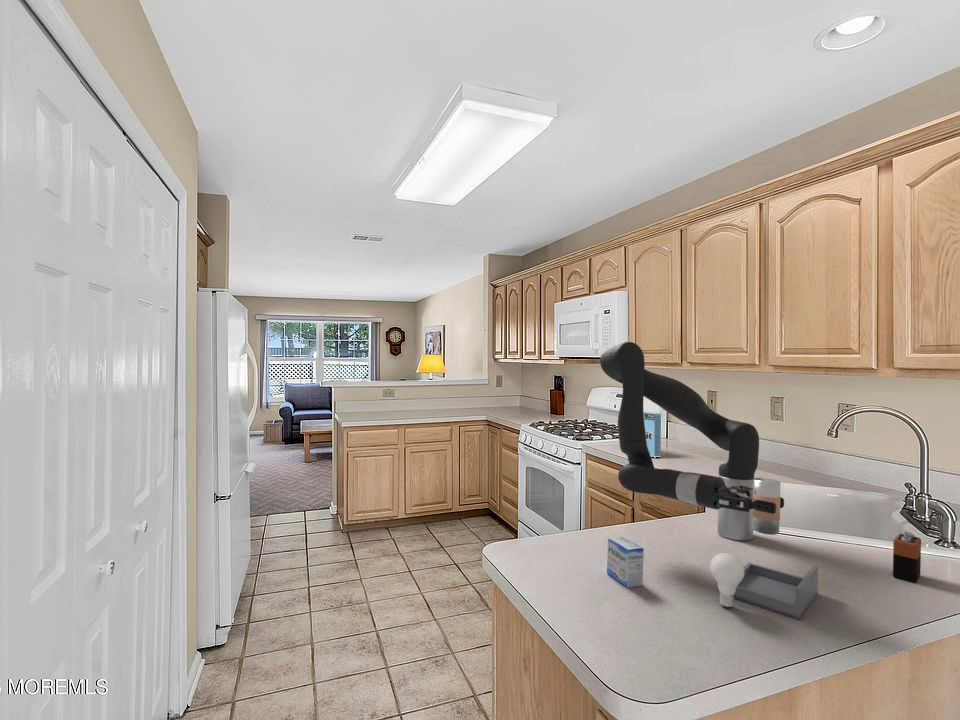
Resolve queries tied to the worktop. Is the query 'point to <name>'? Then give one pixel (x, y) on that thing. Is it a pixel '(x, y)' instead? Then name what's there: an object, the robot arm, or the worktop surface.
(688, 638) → the worktop surface
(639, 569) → the medicine box
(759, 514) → the tin can
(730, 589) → the lightbulb
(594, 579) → the worktop surface
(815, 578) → the tote
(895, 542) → the battery
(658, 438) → the gum box
